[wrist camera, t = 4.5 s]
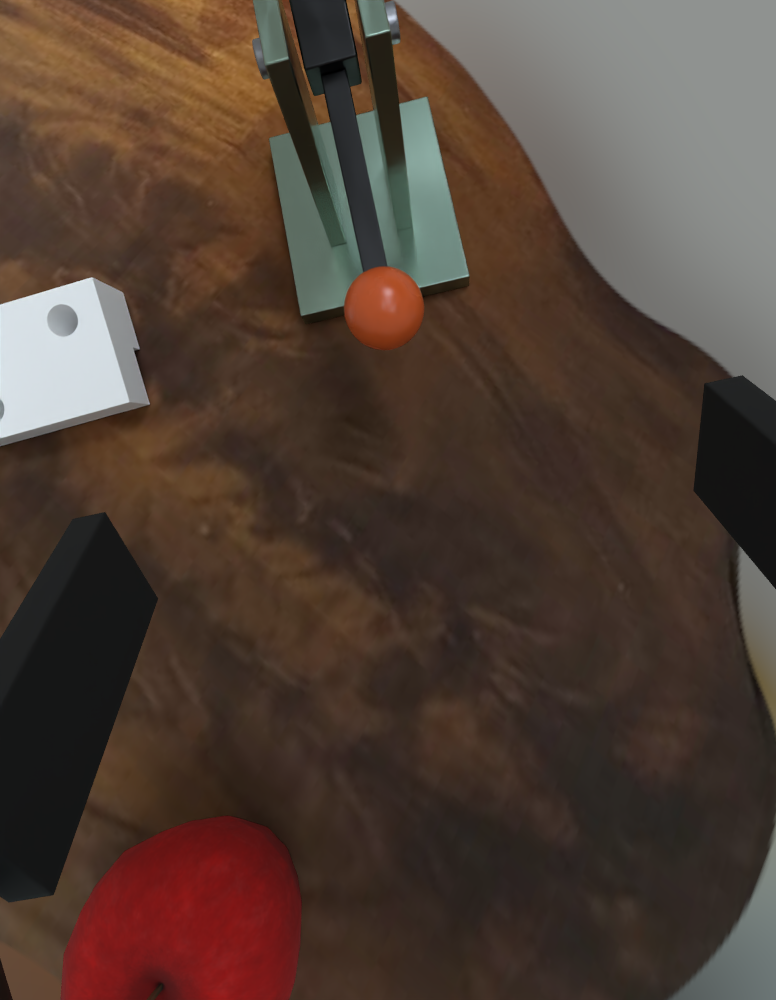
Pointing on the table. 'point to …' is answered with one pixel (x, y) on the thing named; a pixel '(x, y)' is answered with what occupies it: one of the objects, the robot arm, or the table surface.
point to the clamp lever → (356, 179)
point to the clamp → (390, 163)
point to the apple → (190, 919)
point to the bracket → (66, 360)
